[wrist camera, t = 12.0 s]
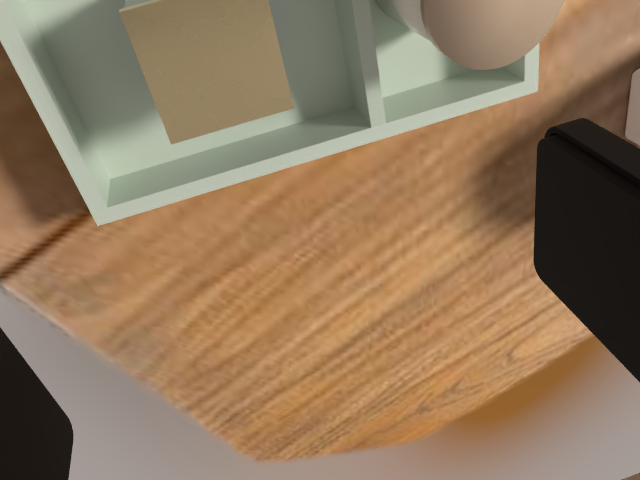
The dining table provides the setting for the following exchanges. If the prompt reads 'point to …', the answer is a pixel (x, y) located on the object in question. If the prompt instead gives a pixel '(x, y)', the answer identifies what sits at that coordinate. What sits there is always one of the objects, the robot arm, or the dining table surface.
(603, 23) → the dining table surface
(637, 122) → the jar
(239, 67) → the tin
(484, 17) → the canister
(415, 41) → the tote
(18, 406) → the robot arm
